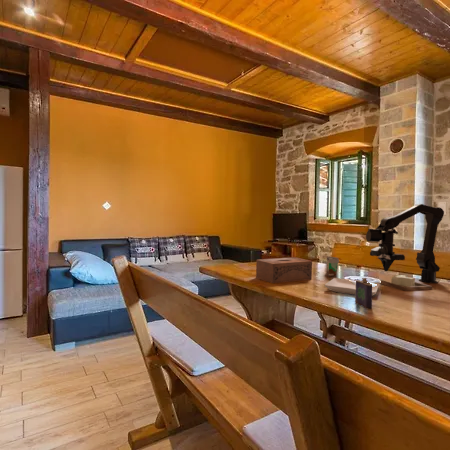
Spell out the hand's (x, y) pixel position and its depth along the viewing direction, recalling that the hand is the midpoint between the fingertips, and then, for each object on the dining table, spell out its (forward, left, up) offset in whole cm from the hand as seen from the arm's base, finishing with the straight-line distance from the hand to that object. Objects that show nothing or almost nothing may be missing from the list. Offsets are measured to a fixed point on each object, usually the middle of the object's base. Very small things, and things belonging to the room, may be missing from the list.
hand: (385, 271), depth 170 cm
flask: (+44, +37, -5) cm, 58 cm away
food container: (+20, -18, -5) cm, 27 cm away
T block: (-2, +10, -5) cm, 12 cm away
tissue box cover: (+52, -15, -6) cm, 54 cm away
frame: (0, +12, -5) cm, 13 cm away
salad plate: (+32, +15, -6) cm, 36 cm away
